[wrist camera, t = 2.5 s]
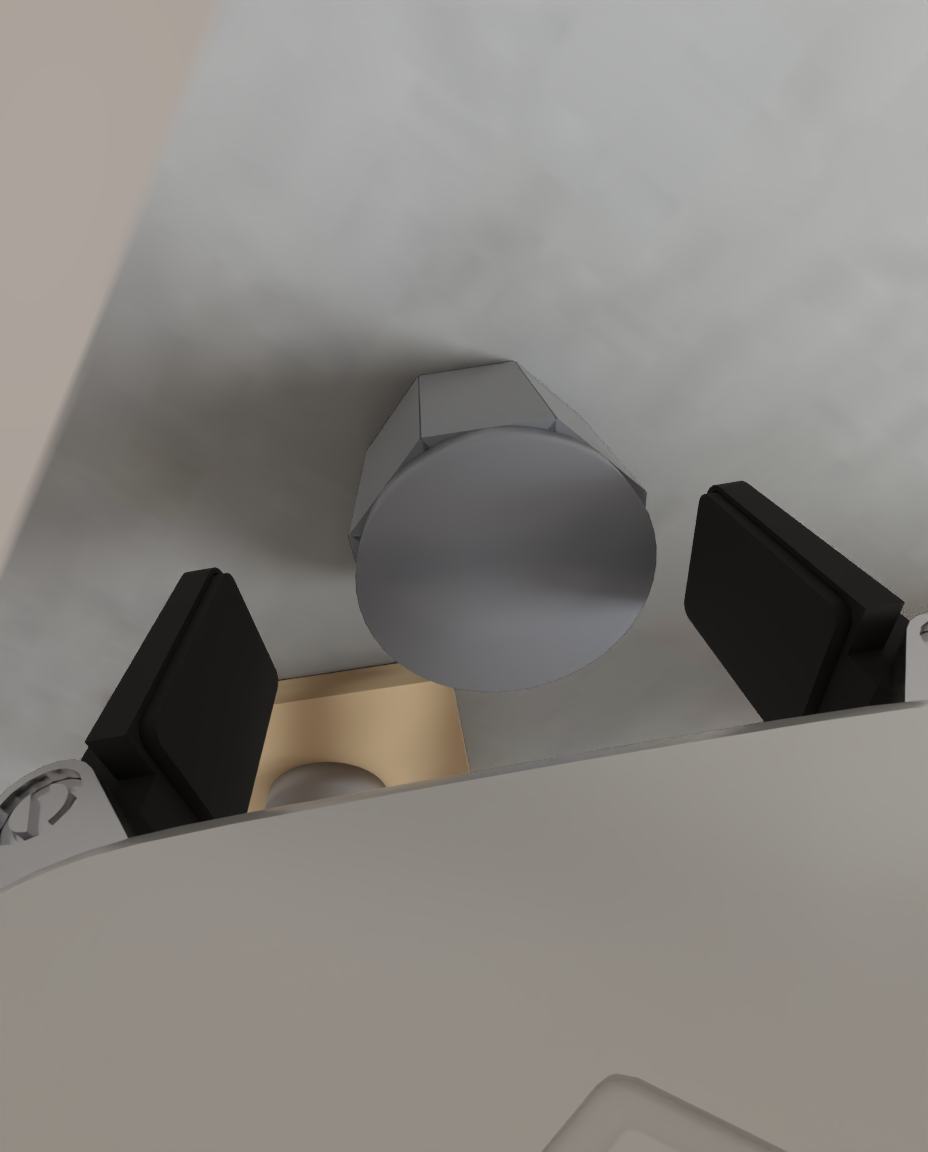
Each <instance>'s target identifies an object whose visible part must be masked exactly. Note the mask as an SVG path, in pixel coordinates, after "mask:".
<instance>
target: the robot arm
mask: <svg viewBox="0 0 928 1152" xmlns="http://www.w3.org/2000/svg"><path fill="white" fill-rule="evenodd" d="M904 603H905V602H904V601H902V600H901V599H900V598H898V597H897V596H896V595H894V594H893V593H892V592H891V591H889V590H888V589H887V588H885V587H884V586H883V585H881V584H880V583H879V582H877V581H876V580H875V579H873V578H872V577H871V576H869V575H868V574H867V573H865V572H864V571H863V570H861V569H860V568H859V567H857V566H856V565H855V564H854V563H852V562H851V561H850V560H848V559H847V558H846V557H844V556H843V555H842V554H840V553H839V552H838V551H836V550H835V549H834V548H832V547H831V546H830V545H828V544H827V543H826V542H824V541H823V540H822V539H821V538H819V537H818V536H817V535H815V534H814V533H813V532H811V531H810V530H809V529H807V528H806V527H805V526H803V525H802V524H801V523H799V522H798V521H797V520H795V519H794V518H793V517H791V516H790V515H789V514H788V513H786V512H785V511H784V510H782V509H781V508H780V507H778V506H777V505H776V504H774V503H773V502H772V501H770V500H769V499H768V498H766V497H765V496H764V495H762V494H761V493H760V492H758V491H757V490H756V489H754V488H753V487H752V486H751V485H749V484H748V483H746V482H744V481H737V482H731V483H725V484H719V485H713V486H712V487H710V488H709V490H708V492H707V494H704V495H702V496H701V498H700V500H699V505H698V512H697V519H696V526H695V532H694V539H693V546H692V553H691V559H690V566H689V573H688V580H687V586H686V593H685V600H684V605H685V611H686V614H687V616H688V618H689V620H690V621H691V622H692V624H693V625H694V626H695V628H696V629H697V631H698V632H699V633H700V635H701V636H702V637H703V639H704V640H705V641H706V643H707V644H708V646H709V647H710V648H711V650H712V651H713V652H714V654H715V655H716V656H717V658H718V659H719V661H720V662H721V663H722V665H723V666H724V667H725V669H726V670H727V672H728V673H729V674H730V676H731V677H732V678H733V680H734V681H735V682H736V684H737V685H738V687H739V688H740V689H741V691H742V692H743V693H744V695H745V696H746V697H747V699H748V700H749V702H750V703H751V704H752V706H753V707H754V708H755V710H756V711H757V713H758V714H759V715H760V717H761V718H762V719H763V721H764V722H762V723H756V724H750V725H744V726H738V727H732V728H726V729H720V730H714V731H708V732H702V733H697V734H691V735H685V736H679V737H673V738H667V739H661V740H655V741H649V742H643V743H637V744H631V745H625V746H619V747H614V748H608V749H602V750H596V751H590V752H585V753H579V754H573V755H567V756H562V757H556V758H550V759H544V760H538V761H533V762H527V763H521V764H515V765H510V766H504V767H498V768H493V769H487V770H481V771H475V772H470V773H464V774H458V775H453V776H447V777H441V778H435V779H430V780H424V781H419V782H413V783H408V784H402V785H396V786H391V787H385V788H380V789H374V790H369V791H363V792H357V793H352V794H346V795H341V796H335V797H329V798H324V799H318V800H313V801H307V802H302V803H296V804H290V805H285V806H280V807H275V808H270V809H264V810H259V811H254V812H249V813H247V812H248V807H249V803H250V799H251V795H252V791H253V787H254V783H255V779H256V775H257V771H258V767H259V763H260V759H261V754H262V750H263V746H264V742H265V738H266V734H267V730H268V726H269V722H270V718H271V714H272V710H273V706H274V702H275V697H276V693H277V689H278V676H277V672H276V669H275V667H274V665H273V662H272V660H271V658H270V656H269V654H268V652H267V650H266V647H265V645H264V643H263V641H262V639H261V637H260V634H259V632H258V630H257V628H256V626H255V624H254V622H253V619H252V617H251V615H250V613H249V611H248V609H247V606H246V604H245V602H244V600H243V598H242V596H241V594H240V591H239V589H238V587H237V585H236V583H235V581H234V579H233V577H232V576H231V575H230V574H229V573H224V574H223V573H222V572H221V571H220V570H219V569H218V568H216V567H215V568H209V569H203V570H197V571H191V572H186V573H184V574H183V576H182V577H181V579H180V580H179V582H178V584H177V586H176V587H175V589H174V591H173V592H172V594H171V596H170V597H169V599H168V601H167V603H166V604H165V606H164V608H163V609H162V611H161V613H160V615H159V616H158V618H157V620H156V621H155V623H154V625H153V626H152V628H151V630H150V632H149V633H148V635H147V637H146V638H145V640H144V642H143V643H142V645H141V647H140V649H139V650H138V652H137V654H136V655H135V657H134V659H133V661H132V662H131V664H130V666H129V667H128V669H127V671H126V672H125V674H124V676H123V678H122V679H121V681H120V683H119V684H118V686H117V688H116V689H115V691H114V693H113V695H112V696H111V698H110V700H109V701H108V703H107V705H106V707H105V708H104V710H103V712H102V713H101V715H100V717H99V718H98V720H97V722H96V724H95V725H94V727H93V729H92V730H91V732H90V734H89V735H88V737H87V739H86V741H85V743H86V744H87V745H88V749H87V751H86V752H85V754H84V756H83V757H82V759H81V761H79V760H75V759H73V760H63V761H58V762H55V763H52V764H49V765H46V766H43V767H41V768H39V769H37V770H35V771H33V772H31V773H29V774H27V775H25V776H24V777H23V778H21V779H20V780H18V781H17V782H16V783H14V784H13V785H11V786H10V787H9V788H7V789H6V790H5V791H4V792H3V793H2V794H1V795H0V1152H928V613H925V614H921V615H918V616H916V617H915V618H913V619H912V620H910V621H909V620H908V619H906V618H905V617H904V616H903V615H901V614H900V612H901V610H902V607H903V605H904Z"/></svg>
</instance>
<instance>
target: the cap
mask: <svg viewBox="0 0 928 1152" xmlns="http://www.w3.org/2000/svg"><path fill="white" fill-rule="evenodd" d="M646 494H647V492H646V490H645V489H644V488H643V487H642V486H641V485H640V484H639V482H638V481H637V480H636V479H635V478H634V477H633V475H632V474H631V473H630V472H629V471H628V470H627V469H626V467H625V466H624V465H623V464H622V463H621V462H620V461H619V459H618V458H617V457H616V456H615V455H614V454H613V453H612V451H611V450H610V449H609V448H608V447H607V446H606V444H605V443H604V442H603V441H602V440H601V439H600V438H599V436H598V435H597V434H596V433H595V432H594V431H593V430H592V428H591V427H590V426H589V425H588V424H587V423H586V422H585V420H584V419H583V418H582V417H581V416H579V415H578V414H577V413H576V412H575V411H573V410H572V409H571V408H570V407H569V406H568V405H566V404H565V403H564V402H563V401H562V400H560V399H559V398H558V397H557V396H556V395H555V394H553V393H552V392H551V391H550V390H549V389H547V388H546V387H545V386H544V385H543V384H542V383H540V382H539V381H538V380H537V379H536V378H534V377H533V376H532V375H531V374H530V373H529V372H527V371H526V370H525V369H524V368H523V367H521V366H520V365H519V364H518V363H517V362H514V361H512V362H506V363H499V364H492V365H486V366H479V367H473V368H466V369H460V370H453V371H446V372H440V373H433V374H427V375H420V376H419V377H417V378H416V380H415V381H414V383H413V384H412V386H411V387H410V389H409V390H408V391H407V393H406V394H405V396H404V397H403V399H402V400H401V402H400V403H399V405H398V406H397V407H396V409H395V410H394V412H393V413H392V415H391V416H390V418H389V419H388V421H387V422H386V423H385V425H384V426H383V428H382V429H381V431H380V432H379V434H378V435H377V436H376V438H375V439H374V441H373V442H372V444H371V445H370V447H369V448H368V450H367V451H366V455H365V460H364V465H363V470H362V474H361V479H360V484H359V489H358V494H357V498H356V503H355V508H354V513H353V518H352V522H351V527H350V532H349V537H348V538H349V541H350V545H351V548H352V552H353V555H354V559H355V562H356V574H355V578H356V594H357V598H358V603H359V607H360V610H361V613H362V615H363V618H364V621H365V623H366V625H367V627H368V628H369V630H370V632H371V634H372V635H373V637H374V638H375V639H376V641H377V642H378V643H379V644H380V646H381V647H382V648H383V649H384V650H385V651H386V652H387V653H388V654H389V655H390V656H391V657H392V658H393V659H394V660H395V661H397V662H398V663H399V664H401V665H402V666H404V667H405V668H406V669H408V670H410V671H411V672H413V673H415V674H417V675H418V676H420V677H422V678H425V679H427V680H430V681H432V682H434V683H437V684H440V685H444V686H447V687H450V688H455V689H461V690H466V691H475V692H507V691H517V690H523V689H528V688H533V687H537V686H540V685H544V684H547V683H550V682H553V681H556V680H558V679H561V678H563V677H566V676H568V675H570V674H572V673H574V672H576V671H578V670H580V669H582V668H583V667H585V666H586V665H588V664H590V663H591V662H593V661H594V660H596V659H597V658H599V657H600V656H601V655H602V654H604V653H605V652H606V651H607V650H609V649H610V648H611V647H612V646H613V645H614V644H615V643H616V642H617V641H618V640H619V639H620V638H621V637H622V636H623V635H624V634H625V632H626V631H627V630H628V629H629V628H630V626H631V625H632V624H633V622H634V621H635V619H636V618H637V616H638V615H639V613H640V611H641V610H642V608H643V606H644V603H645V601H646V599H647V597H648V595H649V592H650V589H651V586H652V583H653V579H654V573H655V568H656V541H655V534H654V529H653V526H652V523H651V520H650V516H649V514H648V512H647V510H646V508H645V507H646Z"/></svg>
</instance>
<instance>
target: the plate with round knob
mask: <svg viewBox="0 0 928 1152" xmlns="http://www.w3.org/2000/svg"><path fill="white" fill-rule="evenodd" d="M464 773H470V769H469V763H468V758H467V753H466V748H465V743H464V738H463V733H462V728H461V722H460V717H459V712H458V707H457V702H456V697H455V692H454V688H450V687H447V686H444V685H440V684H437V683H434V682H432V681H430V680H427V679H425V678H422V677H420V676H418V675H417V674H415V673H413V672H411V671H410V670H408V669H406V668H405V667H404V666H402V665H401V664H399V663H396V664H389V665H382V666H376V667H369V668H362V669H355V670H349V671H342V672H335V673H329V674H322V675H315V676H309V677H302V678H295V679H288V680H282V681H278V689H277V693H276V697H275V702H274V706H273V710H272V714H271V718H270V722H269V726H268V730H267V734H266V738H265V742H264V746H263V750H262V754H261V759H260V763H259V767H258V771H257V775H256V779H255V783H254V787H253V791H252V795H251V799H250V803H249V807H248V812H247V813H249V812H254V811H259V810H264V809H270V808H275V807H280V806H285V805H290V804H296V803H302V802H307V801H313V800H318V799H324V798H329V797H335V796H341V795H346V794H352V793H357V792H363V791H369V790H374V789H380V788H385V787H391V786H396V785H402V784H408V783H413V782H419V781H424V780H430V779H435V778H441V777H447V776H453V775H458V774H464Z"/></svg>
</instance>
